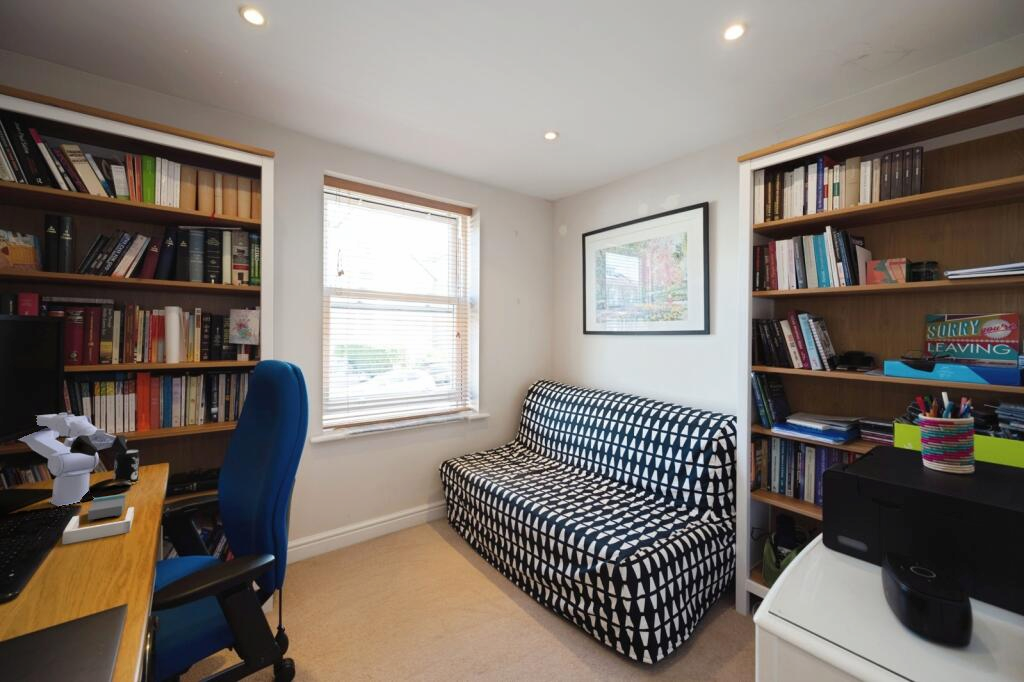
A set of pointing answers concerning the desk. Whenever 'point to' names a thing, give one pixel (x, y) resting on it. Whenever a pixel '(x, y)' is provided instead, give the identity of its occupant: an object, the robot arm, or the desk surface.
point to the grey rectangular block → (106, 507)
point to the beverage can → (127, 466)
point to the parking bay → (96, 529)
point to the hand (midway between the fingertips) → (110, 452)
